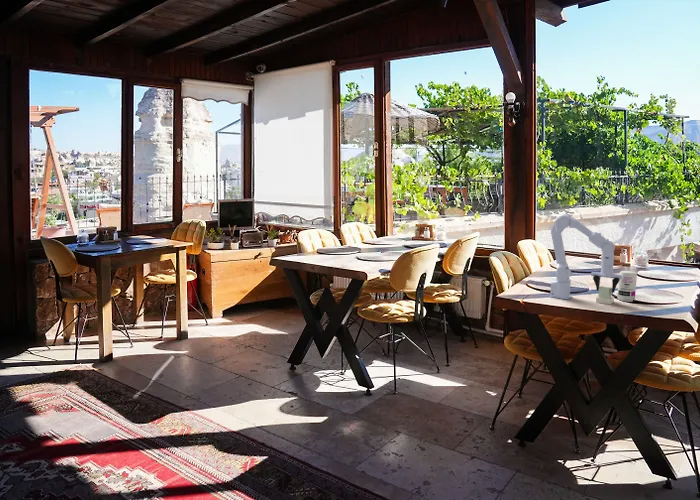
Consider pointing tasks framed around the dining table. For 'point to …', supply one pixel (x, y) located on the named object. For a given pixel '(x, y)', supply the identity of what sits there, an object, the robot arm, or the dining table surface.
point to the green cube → (605, 292)
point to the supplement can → (627, 286)
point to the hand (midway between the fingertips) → (605, 291)
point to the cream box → (605, 300)
